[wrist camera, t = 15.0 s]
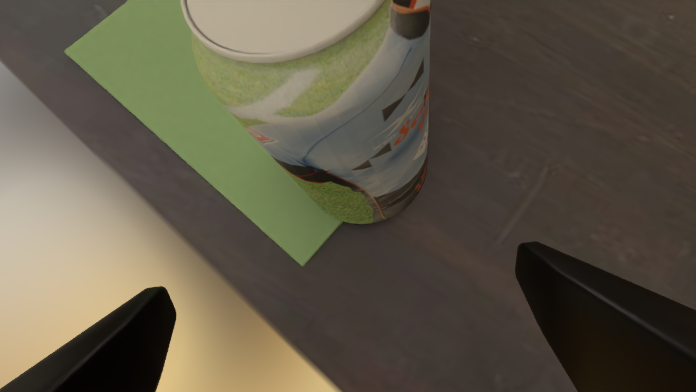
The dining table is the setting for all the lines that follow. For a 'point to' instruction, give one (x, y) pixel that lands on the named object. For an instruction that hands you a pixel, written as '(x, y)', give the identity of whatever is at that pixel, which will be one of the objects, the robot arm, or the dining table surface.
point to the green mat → (197, 120)
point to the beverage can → (326, 92)
